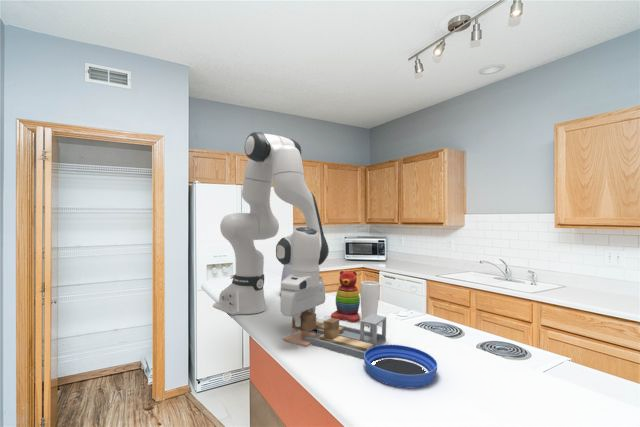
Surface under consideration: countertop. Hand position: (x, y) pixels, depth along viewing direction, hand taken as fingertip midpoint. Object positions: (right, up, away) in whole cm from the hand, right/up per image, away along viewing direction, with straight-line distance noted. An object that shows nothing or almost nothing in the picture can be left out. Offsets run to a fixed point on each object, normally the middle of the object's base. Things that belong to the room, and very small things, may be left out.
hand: (304, 323), depth 103 cm
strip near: (+13, -5, -6) cm, 15 cm away
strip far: (+5, -5, +8) cm, 11 cm away
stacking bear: (+15, -6, +23) cm, 28 cm away
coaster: (0, -5, 0) cm, 5 cm away
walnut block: (0, -1, 0) cm, 1 cm away
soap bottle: (-9, -5, +55) cm, 56 cm away
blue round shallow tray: (+25, -6, -19) cm, 32 cm away
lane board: (+13, -5, -1) cm, 14 cm away
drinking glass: (+23, -6, +16) cm, 29 cm away
